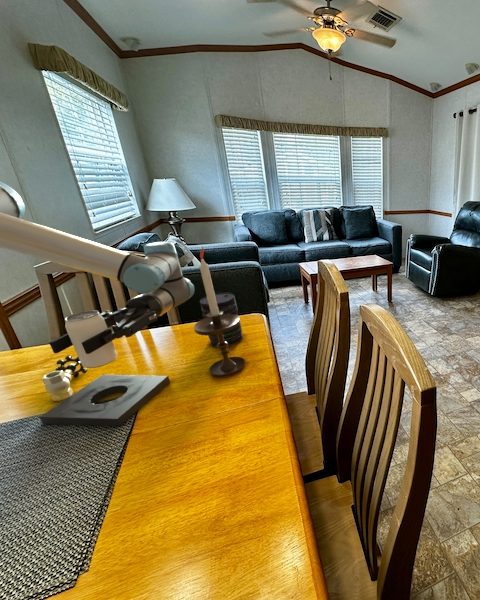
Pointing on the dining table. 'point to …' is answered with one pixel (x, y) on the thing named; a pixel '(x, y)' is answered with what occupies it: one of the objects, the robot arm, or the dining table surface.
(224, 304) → the storage jar
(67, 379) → the valve
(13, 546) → the dining table surface
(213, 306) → the candlestick
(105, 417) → the plate
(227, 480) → the dining table surface
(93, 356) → the can
